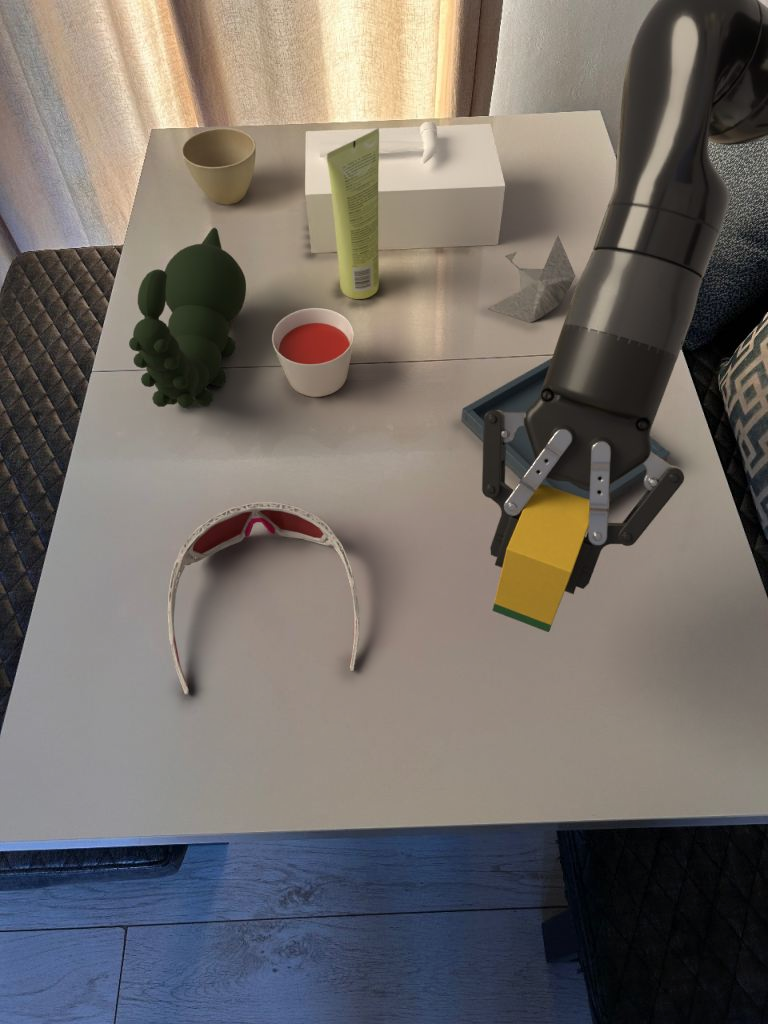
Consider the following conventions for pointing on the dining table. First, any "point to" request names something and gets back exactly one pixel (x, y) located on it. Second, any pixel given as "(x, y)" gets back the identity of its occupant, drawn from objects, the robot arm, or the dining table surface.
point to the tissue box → (416, 186)
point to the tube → (356, 213)
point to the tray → (519, 450)
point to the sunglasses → (239, 525)
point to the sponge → (541, 556)
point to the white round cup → (314, 350)
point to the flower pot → (221, 163)
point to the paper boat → (539, 287)
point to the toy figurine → (188, 323)
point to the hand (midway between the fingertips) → (535, 576)
